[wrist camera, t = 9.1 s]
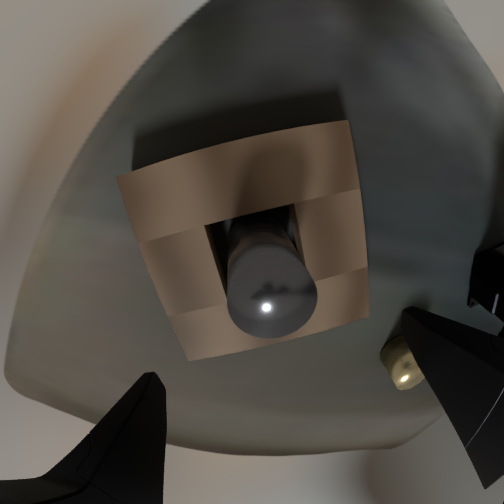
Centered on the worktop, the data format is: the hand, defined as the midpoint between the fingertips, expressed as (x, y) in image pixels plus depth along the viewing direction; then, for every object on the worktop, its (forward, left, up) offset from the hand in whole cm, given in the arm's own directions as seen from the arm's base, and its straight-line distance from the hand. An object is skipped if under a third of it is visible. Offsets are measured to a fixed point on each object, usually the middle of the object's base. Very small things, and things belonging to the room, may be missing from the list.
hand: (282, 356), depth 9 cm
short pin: (-12, +15, -12) cm, 22 cm away
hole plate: (0, 0, -12) cm, 12 cm away
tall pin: (0, 0, -12) cm, 12 cm away
